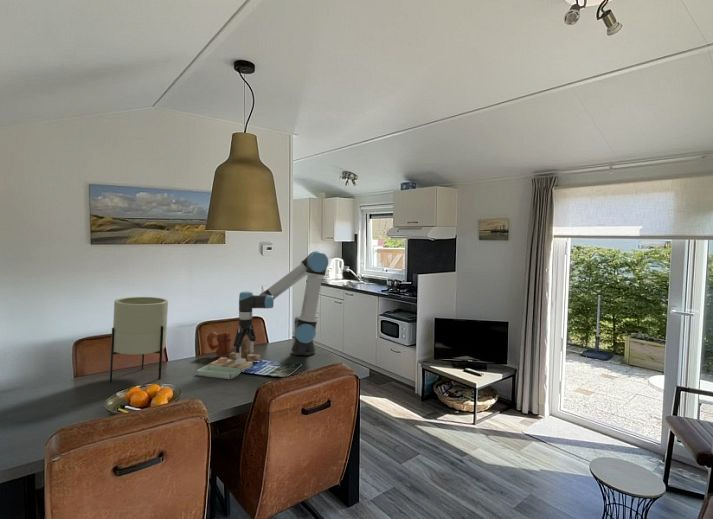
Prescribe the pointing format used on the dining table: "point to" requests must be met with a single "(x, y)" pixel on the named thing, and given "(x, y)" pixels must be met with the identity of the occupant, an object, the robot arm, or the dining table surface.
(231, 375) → the tray
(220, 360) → the tile
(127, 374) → the dining table surface
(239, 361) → the tile
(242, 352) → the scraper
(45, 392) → the dining table surface
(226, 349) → the reddish brown curved figurine
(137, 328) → the planter
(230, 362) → the board
